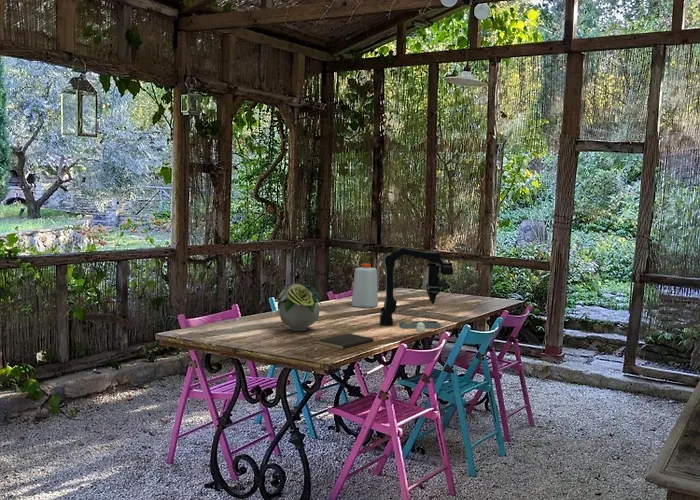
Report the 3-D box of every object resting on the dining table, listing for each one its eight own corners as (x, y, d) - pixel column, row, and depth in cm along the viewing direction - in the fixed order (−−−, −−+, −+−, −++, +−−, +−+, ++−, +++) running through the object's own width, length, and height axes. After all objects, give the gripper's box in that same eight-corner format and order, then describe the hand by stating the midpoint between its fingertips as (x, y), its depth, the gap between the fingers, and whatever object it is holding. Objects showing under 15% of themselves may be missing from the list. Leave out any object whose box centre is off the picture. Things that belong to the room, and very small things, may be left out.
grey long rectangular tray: (403, 330, 345) (403, 324, 344) (399, 327, 352) (399, 321, 352) (440, 329, 350) (440, 323, 349) (435, 327, 357) (435, 320, 357)
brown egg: (405, 328, 347) (405, 317, 346) (402, 326, 351) (403, 316, 350) (412, 327, 348) (413, 317, 347) (410, 326, 352) (410, 316, 351)
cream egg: (417, 333, 338) (418, 323, 337) (415, 331, 342) (415, 321, 342) (425, 333, 339) (426, 322, 338) (423, 331, 343) (423, 321, 343)
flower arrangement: (269, 326, 346) (270, 281, 344) (314, 324, 355) (315, 280, 353) (281, 335, 323) (282, 287, 321) (328, 333, 331) (330, 286, 330)
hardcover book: (317, 344, 307) (317, 339, 307) (348, 337, 325) (348, 333, 324) (343, 350, 297) (343, 345, 297) (373, 342, 315) (373, 338, 314)
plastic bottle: (359, 303, 433) (360, 262, 431) (379, 305, 427) (381, 263, 424) (349, 306, 420) (350, 263, 417) (370, 308, 413) (371, 265, 411)
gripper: (450, 277, 346) (448, 306, 347) (445, 273, 364) (444, 300, 365) (429, 276, 346) (428, 305, 347) (426, 272, 364) (424, 299, 366)
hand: (432, 302), depth 356 cm, fingers open, 9 cm apart
